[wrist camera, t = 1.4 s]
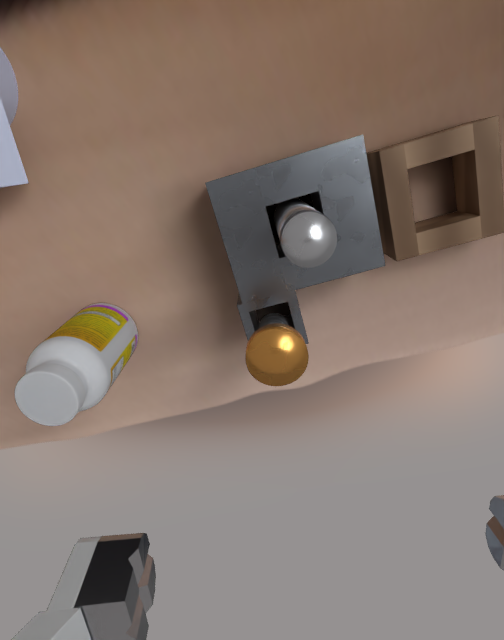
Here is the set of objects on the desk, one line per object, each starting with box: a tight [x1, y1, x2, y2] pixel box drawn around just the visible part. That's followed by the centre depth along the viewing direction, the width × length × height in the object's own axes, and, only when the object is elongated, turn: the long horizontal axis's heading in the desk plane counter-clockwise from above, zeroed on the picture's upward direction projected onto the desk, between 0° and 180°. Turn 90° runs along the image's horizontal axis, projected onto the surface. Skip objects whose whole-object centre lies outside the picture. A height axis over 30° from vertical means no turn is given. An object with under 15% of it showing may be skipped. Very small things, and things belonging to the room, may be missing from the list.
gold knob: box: [246, 313, 308, 386], centre depth 31 cm, size 4×4×6 cm
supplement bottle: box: [15, 303, 138, 426], centre depth 35 cm, size 7×7×13 cm
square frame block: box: [366, 116, 504, 261], centre depth 34 cm, size 9×9×4 cm
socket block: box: [205, 135, 385, 344], centre depth 35 cm, size 12×15×6 cm
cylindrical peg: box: [274, 198, 337, 268], centre depth 30 cm, size 4×4×13 cm
